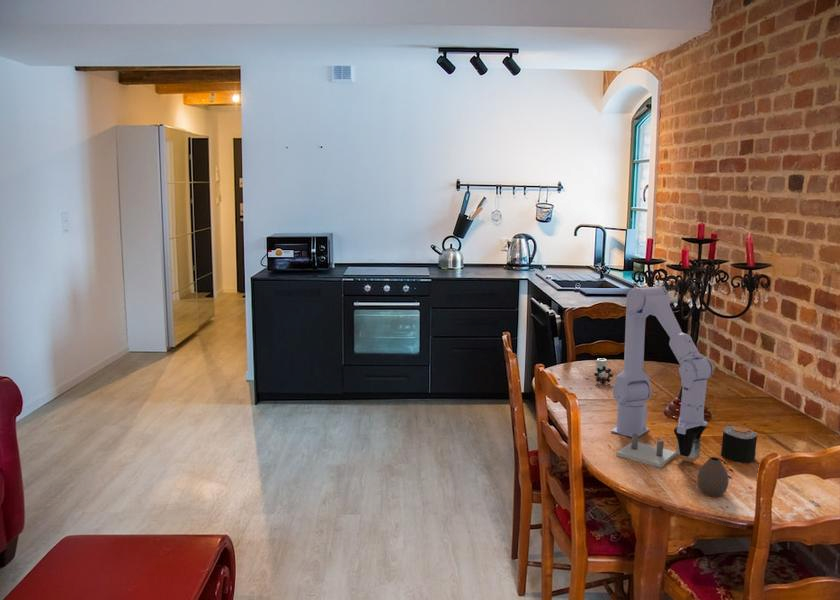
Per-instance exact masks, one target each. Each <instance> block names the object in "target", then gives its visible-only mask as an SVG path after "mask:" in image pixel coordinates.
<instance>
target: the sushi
mask: <svg viewBox="0 0 840 600" xmlns="http://www.w3.org/2000/svg"><path fill="white" fill-rule="evenodd" d="M724 427H725V428H722V431H723V432H722V440H721V451H720V456H721V457H723V459H724V458H725V459H726V460H729V461H733V462H735V463H740V464H750V463H753V461H755V459H756V449H757V440H758V432H757V431H756V432H755V431H754V430H753V429H750V428H747V427H742V426H735V425H730V426H724Z"/></svg>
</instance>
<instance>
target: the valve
mask: <svg viewBox="0 0 840 600" xmlns="http://www.w3.org/2000/svg"><path fill="white" fill-rule="evenodd" d="M611 371H612V369H611V368H609V367H608V365H607V359H606V358H597V359H596V365H595V372H594V373H593V376H594V377H596V378H595V381H596V382H599V381H601V385H604V384H606V383H605V382H607V383H610V382H611V379H610V378H613V377H614V374H613V373H610V372H611ZM607 374H608V375H607ZM606 376H607V378H606ZM600 377H601V378H600Z"/></svg>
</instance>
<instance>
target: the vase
mask: <svg viewBox="0 0 840 600" xmlns="http://www.w3.org/2000/svg"><path fill="white" fill-rule="evenodd" d="M696 479H697V485H698V488H699V490H700V491H701V492H702V493H703V494H704V495H705V496H708V497H712V498H713V497H714V498H716V497H717V498H718V497H720V496H723V494H725V493H726V492H727V489H728V487H729V483H730V481H729V480H730V477H729V473H728V471H727V469H726V467H725V465H724V464H723V463H722V460H721V459H720V458H719V457H716V456H710V457H709V458H708V459H707V461H706V462H705V463H703V464H702V465H701V467H699V470H698V472H697V478H696Z"/></svg>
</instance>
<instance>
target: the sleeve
mask: <svg viewBox="0 0 840 600" xmlns="http://www.w3.org/2000/svg"><path fill="white" fill-rule="evenodd" d="M676 440H677V439H676ZM701 443H702V439H701V438H700V439H697V438H695V439H694V441H693V444H692V447H691V452H690V454H689V456H688V457H687V456H683V455H680V450H679V444H678V440H677V441H676V451H675V452H676V456H675V459H678V460H683V461H686V462H689V463H695V462H696V461H697V460H698V459H700V454H701Z"/></svg>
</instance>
